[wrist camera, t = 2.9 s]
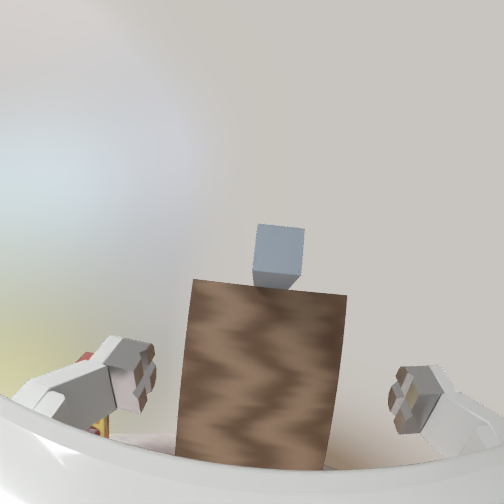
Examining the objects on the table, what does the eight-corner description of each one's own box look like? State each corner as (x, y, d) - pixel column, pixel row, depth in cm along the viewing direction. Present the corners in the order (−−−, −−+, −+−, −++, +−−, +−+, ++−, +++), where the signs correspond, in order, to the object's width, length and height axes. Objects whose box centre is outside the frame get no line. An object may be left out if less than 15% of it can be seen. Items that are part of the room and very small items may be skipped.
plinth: (172, 520, 24) (193, 278, 29) (195, 470, 37) (213, 292, 43) (306, 534, 23) (347, 295, 29) (293, 480, 37) (318, 304, 42)
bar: (252, 270, 20) (257, 223, 21) (255, 299, 45) (257, 278, 46) (300, 275, 20) (304, 228, 21) (276, 301, 45) (278, 280, 46)
